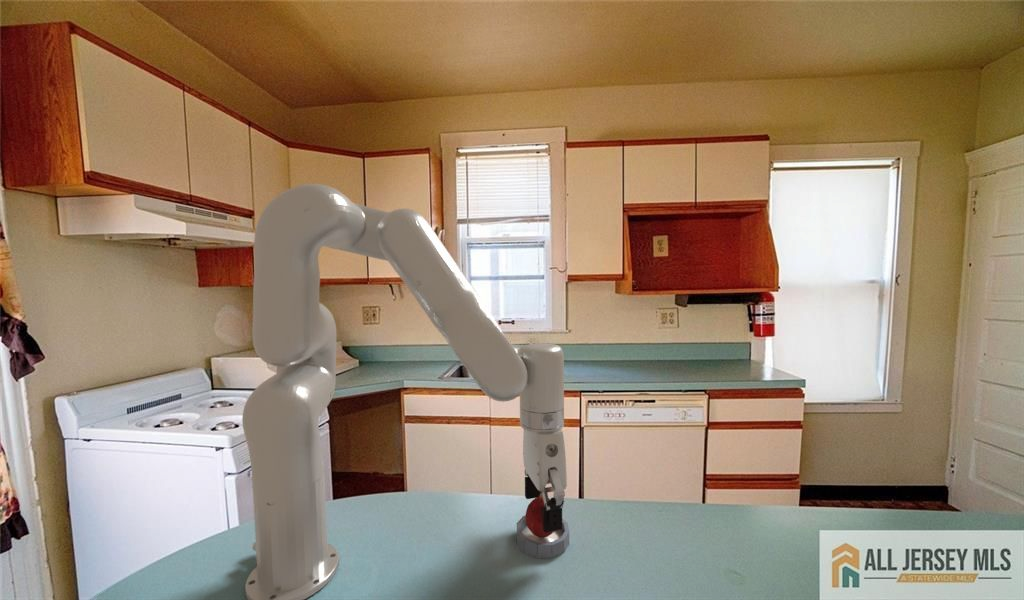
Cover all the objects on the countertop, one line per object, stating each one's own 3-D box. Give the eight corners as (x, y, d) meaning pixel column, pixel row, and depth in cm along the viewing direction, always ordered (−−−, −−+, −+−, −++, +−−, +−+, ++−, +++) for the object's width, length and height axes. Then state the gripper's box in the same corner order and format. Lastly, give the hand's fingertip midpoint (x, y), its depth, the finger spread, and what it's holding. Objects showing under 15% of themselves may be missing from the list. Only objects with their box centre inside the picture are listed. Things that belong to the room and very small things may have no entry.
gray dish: (507, 546, 67) (507, 534, 67) (531, 518, 75) (531, 506, 75) (555, 565, 63) (555, 552, 63) (576, 532, 71) (576, 521, 70)
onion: (557, 551, 65) (558, 506, 64) (523, 546, 66) (523, 502, 65) (559, 527, 71) (560, 485, 70) (528, 523, 72) (528, 482, 71)
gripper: (584, 433, 60) (583, 540, 61) (545, 399, 77) (545, 484, 78) (537, 439, 58) (538, 550, 59) (507, 402, 75) (508, 489, 76)
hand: (542, 512), depth 69 cm, fingers open, 9 cm apart
